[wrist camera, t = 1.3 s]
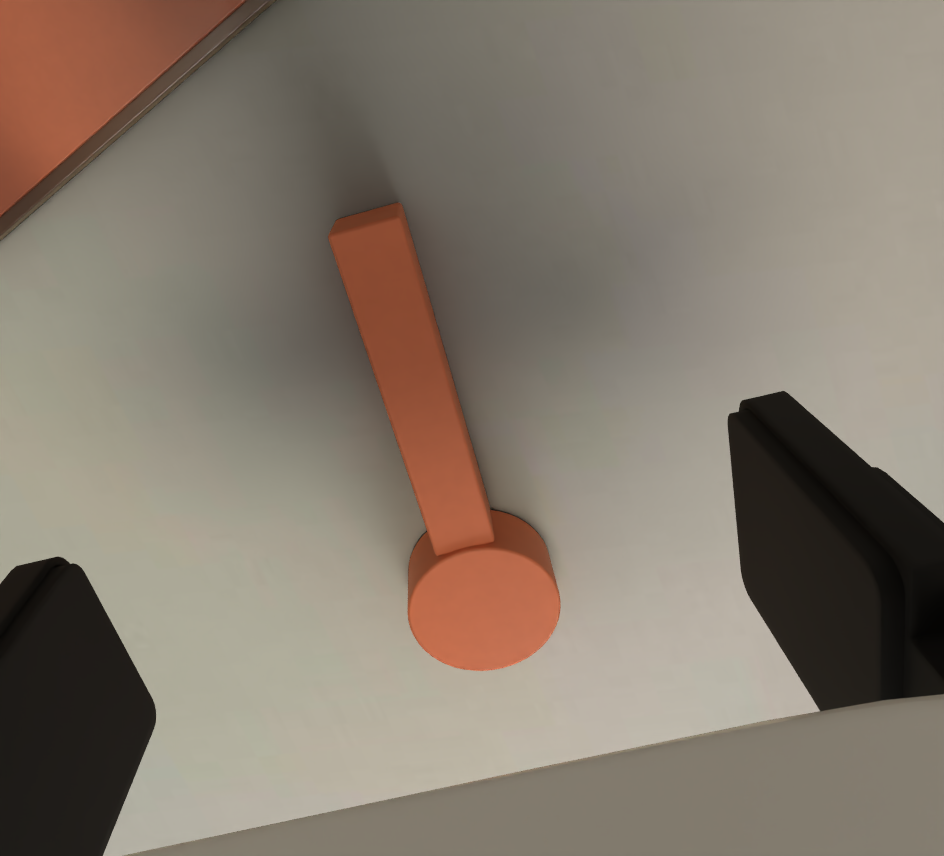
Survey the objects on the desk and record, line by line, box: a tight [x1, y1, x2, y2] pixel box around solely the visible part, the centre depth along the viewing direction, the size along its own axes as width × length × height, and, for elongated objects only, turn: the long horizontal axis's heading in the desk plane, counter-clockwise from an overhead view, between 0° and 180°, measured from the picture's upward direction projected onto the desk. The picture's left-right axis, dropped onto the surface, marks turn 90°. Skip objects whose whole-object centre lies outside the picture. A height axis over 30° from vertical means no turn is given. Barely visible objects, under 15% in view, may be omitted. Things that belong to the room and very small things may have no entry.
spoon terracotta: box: [328, 203, 560, 671], centre depth 22 cm, size 14×5×2 cm, turn 14°
